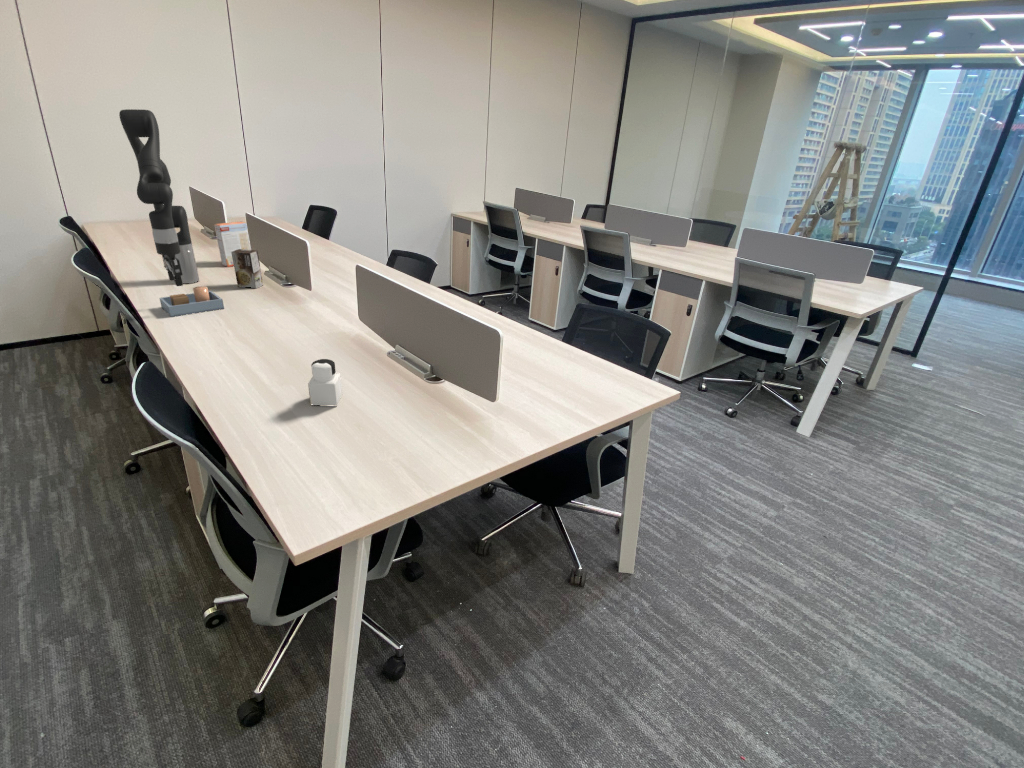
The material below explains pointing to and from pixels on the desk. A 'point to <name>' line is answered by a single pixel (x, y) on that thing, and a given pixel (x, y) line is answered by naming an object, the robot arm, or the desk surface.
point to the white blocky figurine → (324, 383)
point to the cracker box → (231, 240)
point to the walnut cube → (179, 299)
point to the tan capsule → (201, 294)
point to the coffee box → (247, 268)
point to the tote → (192, 305)
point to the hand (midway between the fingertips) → (176, 282)
